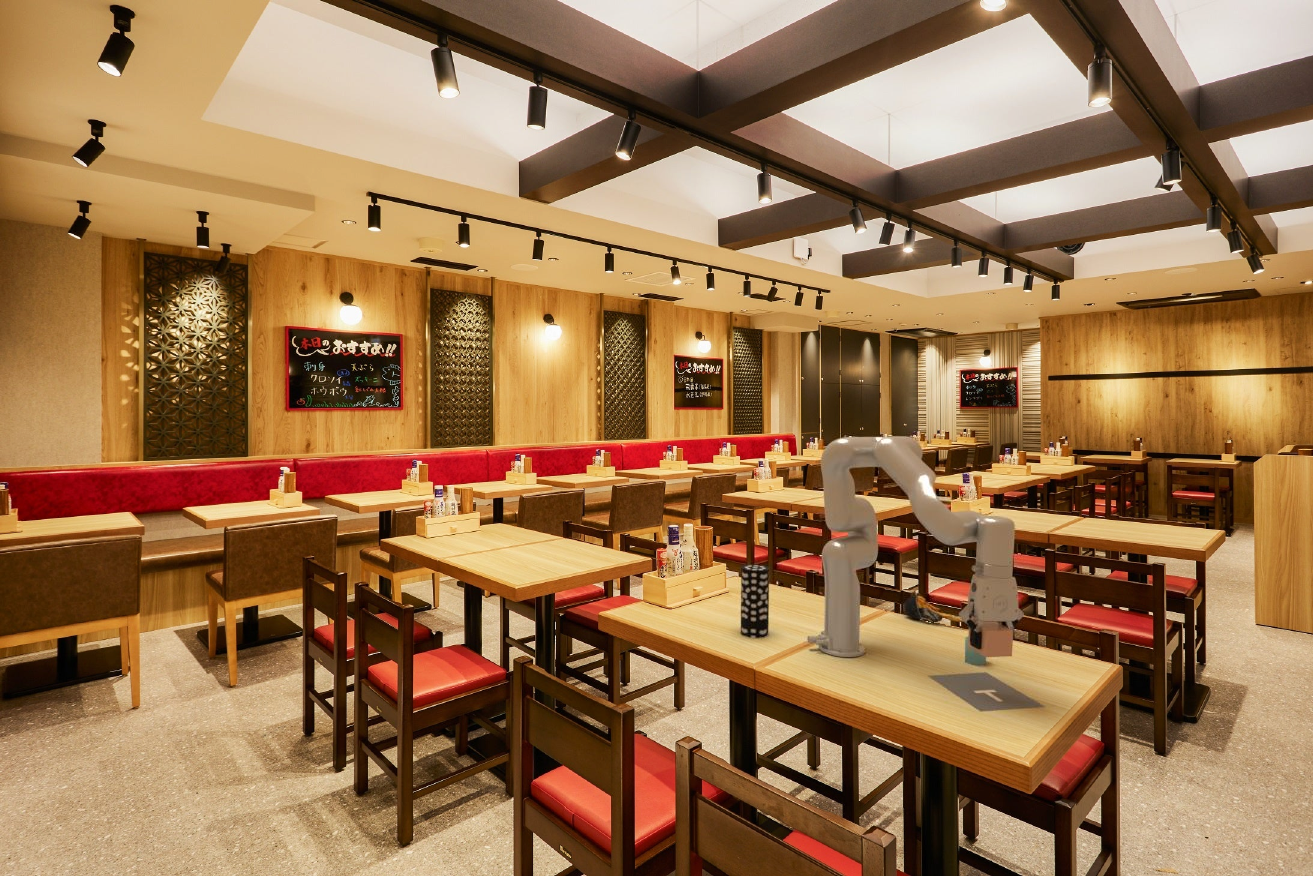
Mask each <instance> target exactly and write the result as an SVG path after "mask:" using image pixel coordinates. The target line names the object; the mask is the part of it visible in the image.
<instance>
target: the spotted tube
mask: <svg viewBox="0 0 1313 876" xmlns="http://www.w3.org/2000/svg"><path fill="white" fill-rule="evenodd" d="M740 568H741V571H740V573H741V575H740V578H741V581H740V582H741V583H740V589H741V590H740V634H741V635H742V636H744V637H747V638H750V639H751V638H753V639H762V637H763V638H765V636H766V637H768V636H769V626H770V625H769V619H770V618H769V614H770V613H769V611H770V610H769V609H770V608H769V607H770V567H769V566H766V565H761V564H744V565H742V566H741V567H740ZM767 635H768V636H767Z"/></svg>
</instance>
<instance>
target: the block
mask: <svg viewBox="0 0 1313 876" xmlns="http://www.w3.org/2000/svg"><path fill="white" fill-rule="evenodd" d="M977 621H978V620H977ZM977 621H976V623H977ZM980 632H982V643H981V649H976V648H975V647H973V646H971V645H970V628H968V634H967V637H968V647H969V648H971V649H973V650H975V651H976V652H978V653H980V654H981V655H983V656H985V657H986V658H1003V657H1004V658H1006V657H1012V656H1013V647H1014V646H1013V644H1014V643H1013V641H1014V630H1012V629H1010V628H1008V627H1006V626H1004V625H1002V624H1000V622H984V623H983V625H982V627H981V629H980Z"/></svg>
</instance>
